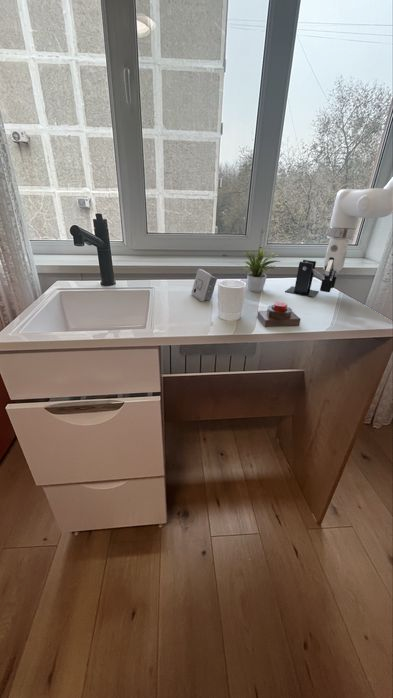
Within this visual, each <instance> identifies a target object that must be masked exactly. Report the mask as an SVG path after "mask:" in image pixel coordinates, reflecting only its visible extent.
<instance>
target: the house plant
mask: <svg viewBox="0 0 393 698" xmlns="http://www.w3.org/2000/svg"><path fill="white" fill-rule="evenodd" d="M270 249H271V247H270V248H268V249H266V250H265V252H263V250H264V249H263V248H261V246H260V245H259V247H258V248H257V255H255V253H254V252H253V251H252V249H251V250H250V249H249V252H248V251H246V252H243V254H244V255H245V256H246V257H247V259H248V260H249V261H244V263H245V264H247V265H244V267H243V269H244V270H243V271H246V270H249V271H251V272H249V273H247V274H246V278H247V290H248V291H250V292H263V290H264V287H265V285H266V284H265V283H266V280H267V277H268V275H267V274H265V273H266V272H267V270H275V265H270V264H273V263H278V262H279V263H280V262H281V260H270V259H275V258H276V256H279V255H278V254H276V253H277V251H275V252H272V253H270V254H269V255H268V256H267V257H265V256H266V254H267V253H268V252H269V251H270ZM274 254H275V255H274ZM264 258H265V259H264ZM263 259H264V260H263Z"/></svg>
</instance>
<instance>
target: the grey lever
mask: <svg viewBox="0 0 393 698" xmlns="http://www.w3.org/2000/svg"><path fill="white" fill-rule="evenodd" d="M306 262H307V261H306ZM308 263H309V262H308ZM312 273H313V275H314V276H316V277H318V278H319V279H321V280H322V279H323V276H324V274H322V273H321V272H319V271H317V270H316V269H315V270H314V269H313V268H312Z"/></svg>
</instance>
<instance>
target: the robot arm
mask: <svg viewBox="0 0 393 698" xmlns="http://www.w3.org/2000/svg"><path fill="white" fill-rule="evenodd" d="M391 214H393V176H392V177H391V178H390V180H389V181H388V182H387V184H386V185H384V187H383V188H382V187H377V188H376V187H375V188H374V187H372V188H363V189H358V188H343V189H340V190H338V191H337V193H336V196H335V200H334V203H333V209H332V213H331V218H330V222H329V227H328V231H327V235H326V238H327V239H329V241H328V245H327V249H326V253H325V256H324V260H323V266H322V269H323V270H324V274H323V279H321V283H320V288H319V291H320V292H325V293H331V291H332V290H331V289H334V287H335V284H336V281H337V276H338V273H339V272H340V271H341V270H342V269H343V268H344V265H345V261H346V256H347V253H348V249H349V244H350V241H352V240H353V238H354V235H355V232H356V228H357V225H358V224H357V223H358V219H360V218H361V219H375V218H377V219H378V218H386V217H388V216H390V215H391Z"/></svg>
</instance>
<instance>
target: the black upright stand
mask: <svg viewBox="0 0 393 698" xmlns="http://www.w3.org/2000/svg"><path fill="white" fill-rule="evenodd" d="M306 261H307V262H306ZM308 262H309V263H308ZM316 265H317V261H316V260H310V259H309V260H308V259H302V261H299V263H298V269H297V273H296V279H295V284H294V285H293V286H289V288H288V289H286V290H285V291H284V293H287V294H292V295H297V296H303V297H307V298H314V297H316V295H317V294H318V293H319V291H320V290H315V289H311V287H312V283H313V279H314V274H313V273H312V268H313V269H314V270H316Z"/></svg>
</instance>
